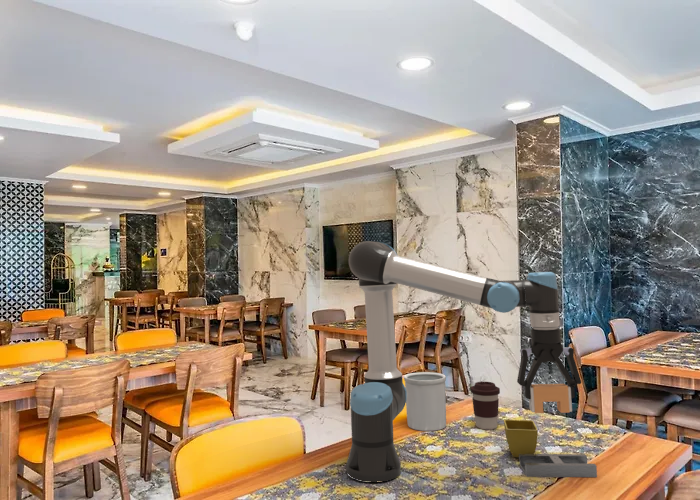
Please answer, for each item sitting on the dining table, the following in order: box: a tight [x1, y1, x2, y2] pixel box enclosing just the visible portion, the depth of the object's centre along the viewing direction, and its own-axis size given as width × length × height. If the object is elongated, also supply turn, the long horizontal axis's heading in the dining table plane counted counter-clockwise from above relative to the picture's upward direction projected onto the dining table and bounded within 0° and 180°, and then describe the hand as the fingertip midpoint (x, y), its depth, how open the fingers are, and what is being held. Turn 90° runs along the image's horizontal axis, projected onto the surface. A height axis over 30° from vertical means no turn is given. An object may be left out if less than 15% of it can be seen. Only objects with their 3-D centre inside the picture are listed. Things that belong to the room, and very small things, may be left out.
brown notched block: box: [531, 383, 570, 414], centre depth 135 cm, size 9×3×7 cm, turn 84°
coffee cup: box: [470, 381, 501, 430], centre depth 173 cm, size 10×10×15 cm
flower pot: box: [503, 419, 539, 458], centre depth 147 cm, size 9×9×9 cm
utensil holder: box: [403, 371, 447, 432], centre depth 177 cm, size 15×15×18 cm
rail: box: [518, 453, 598, 478], centre depth 135 cm, size 18×8×3 cm, turn 85°
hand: (550, 410), depth 135 cm, fingers closed on brown notched block, 9 cm apart
